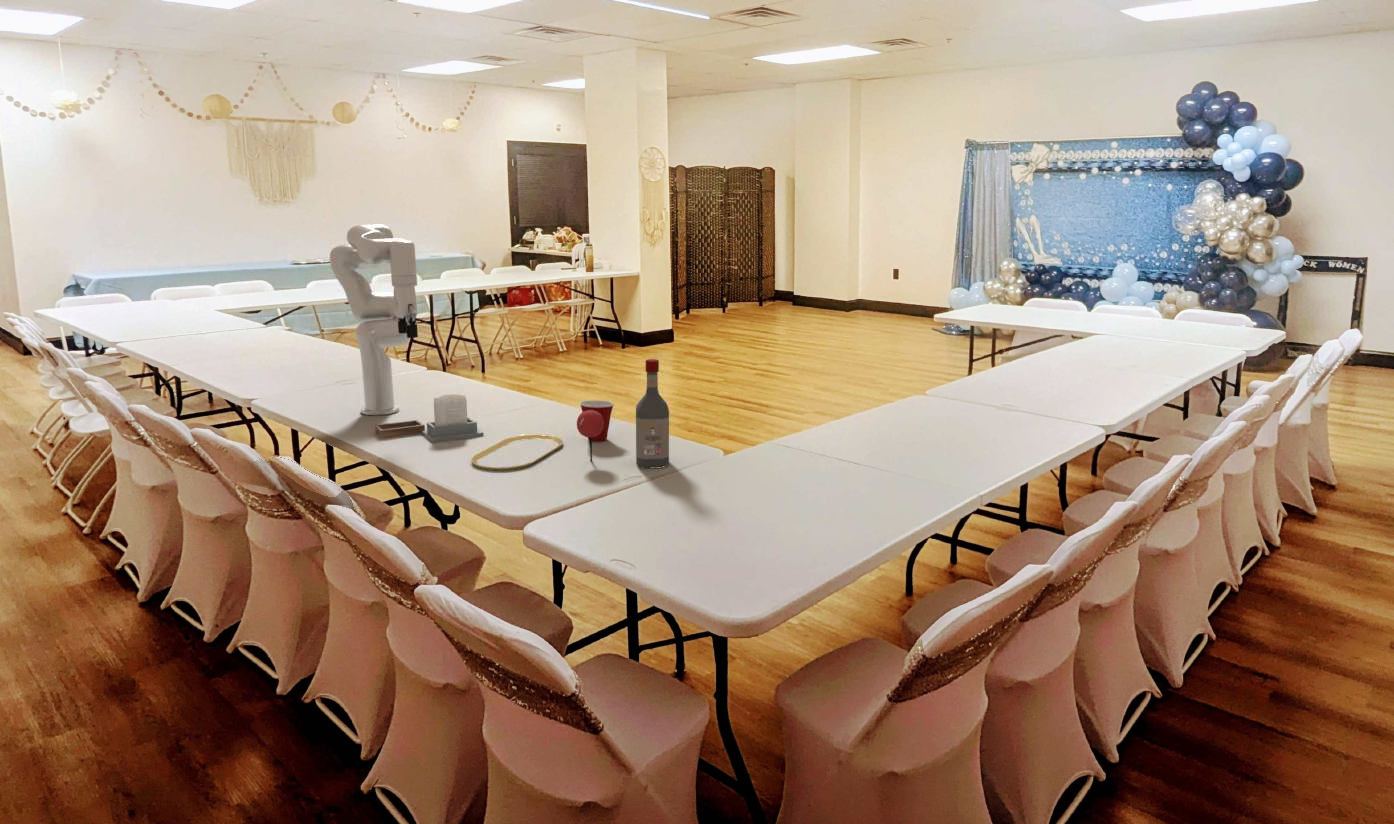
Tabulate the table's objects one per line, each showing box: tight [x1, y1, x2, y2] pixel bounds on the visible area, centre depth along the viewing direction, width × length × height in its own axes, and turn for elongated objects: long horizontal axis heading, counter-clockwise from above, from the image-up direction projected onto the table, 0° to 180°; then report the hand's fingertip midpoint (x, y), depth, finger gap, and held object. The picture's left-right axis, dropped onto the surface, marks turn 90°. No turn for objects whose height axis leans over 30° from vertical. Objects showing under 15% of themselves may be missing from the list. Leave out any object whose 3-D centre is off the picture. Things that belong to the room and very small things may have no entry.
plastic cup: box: [578, 399, 615, 443], centre depth 281 cm, size 11×11×12 cm
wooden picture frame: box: [374, 419, 426, 439], centre depth 287 cm, size 8×14×2 cm, turn 122°
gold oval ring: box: [471, 433, 564, 471], centre depth 267 cm, size 19×35×2 cm, turn 163°
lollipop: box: [576, 410, 604, 462], centre depth 258 cm, size 8×8×15 cm
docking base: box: [421, 416, 484, 444], centre depth 285 cm, size 12×16×4 cm
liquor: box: [635, 358, 670, 469], centre depth 254 cm, size 9×9×30 cm
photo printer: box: [433, 392, 468, 427], centre depth 284 cm, size 10×4×12 cm, turn 122°
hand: (408, 335), depth 286 cm, fingers open, 9 cm apart
